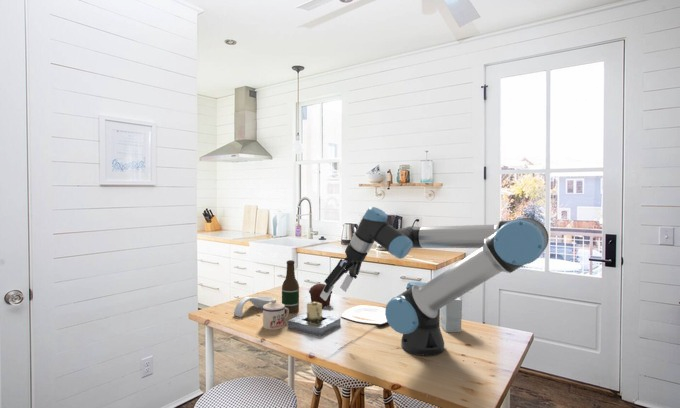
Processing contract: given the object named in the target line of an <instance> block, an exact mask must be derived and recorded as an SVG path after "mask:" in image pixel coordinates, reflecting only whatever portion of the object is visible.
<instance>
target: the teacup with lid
mask: <svg viewBox="0 0 680 408" xmlns="http://www.w3.org/2000/svg"><path fill="white" fill-rule="evenodd" d="M261 309H262V327H263V328H264V329H265V330H270V331H271V330H279V329H283V328H284V327H285V320H286V319H288V316H289V315H290V314H289V309H288V308H286V307H285V305H284V304H282V302H279V301H277V299H276V298H275V299H272V300H271V302H269V303H268V304H265V305H264V306H263V308H261ZM285 309H286V314H285Z"/></svg>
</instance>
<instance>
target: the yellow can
mask: <svg viewBox="0 0 680 408" xmlns="http://www.w3.org/2000/svg"><path fill="white" fill-rule="evenodd" d="M306 312H307V321H308V322H312V323H316V324H317V323H319V322H321V321H322V314H323V307H322V304H321V303H318V302H312V303H311V302H308V303H307V304H306Z"/></svg>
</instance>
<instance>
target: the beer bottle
mask: <svg viewBox="0 0 680 408" xmlns="http://www.w3.org/2000/svg"><path fill="white" fill-rule="evenodd" d="M295 263H296V262H295V260H289V259H288V260H287V261H286V273H285V275H286V276H285V278H284V281H283V282H282V285H281V303H282V304H284V305H285V307H286V308H288V309H289V314H288V315H290V314H296V313H298V312H299V310H300V286H299V282H298V280H297V278H296V275H295V274H296V273H295ZM285 315H286V309H285Z"/></svg>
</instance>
